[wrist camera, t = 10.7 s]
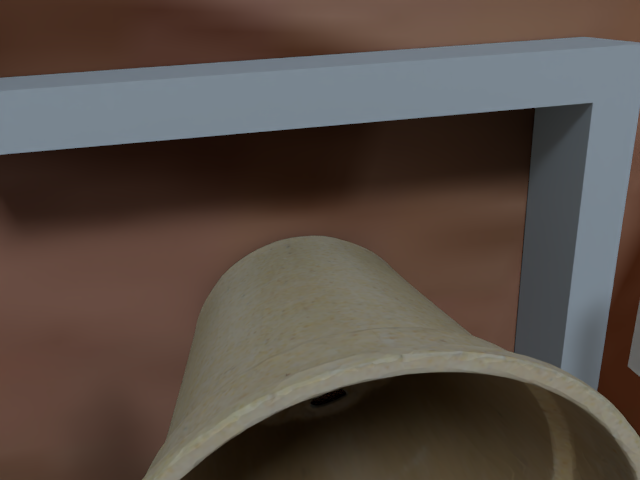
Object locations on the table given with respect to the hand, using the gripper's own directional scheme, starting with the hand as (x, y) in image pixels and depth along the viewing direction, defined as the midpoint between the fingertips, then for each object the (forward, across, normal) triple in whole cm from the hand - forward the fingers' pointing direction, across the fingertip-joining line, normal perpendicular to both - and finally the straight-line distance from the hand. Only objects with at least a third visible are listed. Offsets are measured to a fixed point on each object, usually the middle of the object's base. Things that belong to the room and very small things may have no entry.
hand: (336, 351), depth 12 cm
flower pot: (+5, 0, -3) cm, 6 cm away
